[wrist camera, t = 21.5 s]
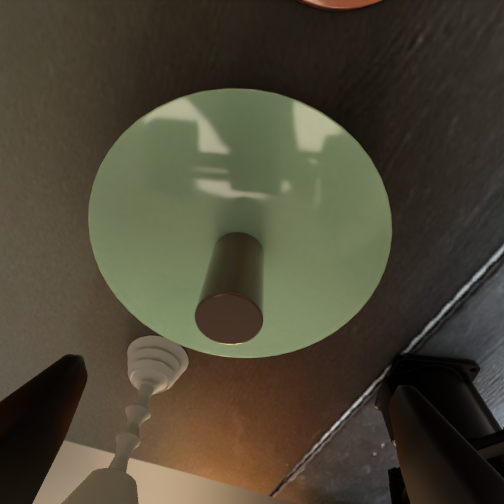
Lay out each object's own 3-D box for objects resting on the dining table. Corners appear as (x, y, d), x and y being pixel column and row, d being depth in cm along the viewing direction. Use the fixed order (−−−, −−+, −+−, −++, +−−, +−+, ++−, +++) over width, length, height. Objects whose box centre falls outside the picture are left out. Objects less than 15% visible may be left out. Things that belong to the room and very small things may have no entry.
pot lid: (345, 354, 20) (371, 449, 15) (116, 332, 20) (67, 421, 15) (429, 105, 13) (529, 133, 8) (74, 68, 13) (-47, 72, 8)
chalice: (103, 327, 25) (-154, 747, 10) (188, 322, 25) (58, 761, 9) (131, 388, 29) (-24, 766, 13) (206, 385, 28) (134, 778, 13)
